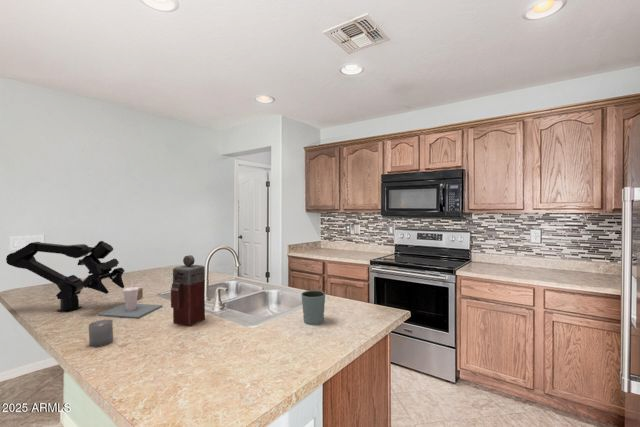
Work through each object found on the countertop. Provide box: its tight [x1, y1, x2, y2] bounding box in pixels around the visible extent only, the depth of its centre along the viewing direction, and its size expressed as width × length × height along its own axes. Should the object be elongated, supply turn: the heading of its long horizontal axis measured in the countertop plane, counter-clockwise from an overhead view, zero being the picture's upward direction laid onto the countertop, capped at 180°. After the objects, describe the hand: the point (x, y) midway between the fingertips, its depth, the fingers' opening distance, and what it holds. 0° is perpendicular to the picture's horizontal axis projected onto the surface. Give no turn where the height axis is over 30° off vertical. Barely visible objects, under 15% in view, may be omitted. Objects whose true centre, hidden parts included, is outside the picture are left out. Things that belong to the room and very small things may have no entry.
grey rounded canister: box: [88, 319, 114, 348], centre depth 112 cm, size 7×7×7 cm
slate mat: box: [97, 302, 163, 320], centre depth 145 cm, size 20×16×1 cm
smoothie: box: [122, 279, 140, 311], centre depth 145 cm, size 6×6×14 cm
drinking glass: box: [300, 290, 326, 326], centre depth 134 cm, size 10×10×12 cm
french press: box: [170, 254, 206, 327], centre depth 132 cm, size 9×11×28 cm
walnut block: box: [137, 287, 144, 301], centre depth 164 cm, size 5×5×5 cm
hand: (115, 290), depth 146 cm, fingers open, 9 cm apart
